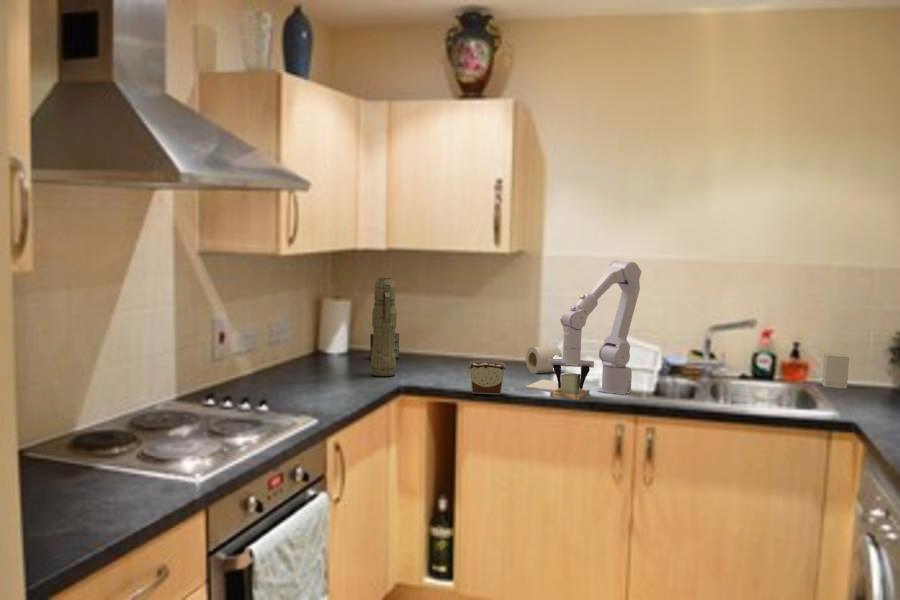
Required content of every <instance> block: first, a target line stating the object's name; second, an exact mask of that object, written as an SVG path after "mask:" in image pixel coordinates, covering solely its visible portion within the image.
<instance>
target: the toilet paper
mask: <svg viewBox="0 0 900 600" xmlns="http://www.w3.org/2000/svg"><path fill="white" fill-rule="evenodd" d="M555 355H558V356H559V357H562V358H563V353H562V351H561V349H560V348H559V347H558V346H557V345H551V346H534V347H533V346H530V347H529V348H528V349H527V351H526V354H525V364H526V368H527V370H528V372H530V373H532V374H545V373H548V374H549V373H554V372H553V366H549V359H553V357H554V356H555Z"/></svg>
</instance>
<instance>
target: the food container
mask: <svg viewBox="0 0 900 600" xmlns="http://www.w3.org/2000/svg"><path fill="white" fill-rule="evenodd" d="M467 369H468V370H469V369H470V371H469V372H470V380H471V381H470V383H471V393H472V394H481V395H482V394H483V395H484V394H485V395H487V394H488V395H501V394H502V387H503V382H504V381H503V380H504V374H505V373H504V372H505V371H507V368H506V364H505V363H504V362H501V361H493V360H475V361H471V362H470V363H469V365H468V368H467Z"/></svg>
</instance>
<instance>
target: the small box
mask: <svg viewBox="0 0 900 600" xmlns="http://www.w3.org/2000/svg"><path fill="white" fill-rule="evenodd" d="M369 335H370V338H369V339H370V344H369V345H370V347H369V358H371V356H372V353H373V333H370V334H369ZM394 353H395V356H396V358H399V359H400V333H399V332H398V333H397V332H395V349H394Z"/></svg>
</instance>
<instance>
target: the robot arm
mask: <svg viewBox="0 0 900 600" xmlns="http://www.w3.org/2000/svg"><path fill="white" fill-rule="evenodd" d="M604 270H605V271H604V274H603V275H602V276H601V277H600V278H599V280H598V281H597V283H596V284H595V285H594V286H593V288H592V289H591V291H590V292H589V293H588V292H585V293H584V294H581V295H579V299H578V300H577V301H576V303H575V304H573V305H572V306H571V307H570V309H569V310H566V311H565V312H563V314H562V316H561V318H560V323H561V325H562V329H563V330H562V331H563V346H562V359H549V366H553V368H554V371H555V372H554V373H555V376H556V379H557V381H558V388H561V375H562V367H574V368H576V367H578V368H580V389H584V383H585V381H586V378H587V376H588V374H589V372H590V369H591V368H592V369H594V368H595V361H594V360H583V359H581V357H582V355H581V353H582V351H581V350H582V330H583V328H584V327H585V326H586V323H587V319H588V318H589V316H590V314H591V313H593V311H594V310H595V309H596V307H597V306H598V304H599V301H598V300H599V299H600V298H601V297H602V295H604V294H605V293H606V292H607V291H608V290H609V289H610V288H611V287H612V286H613V285H614V284H617V285H618V287H620V290H621V294H620V298H619V301H618V305H617V310H616V313H615V316H614V321H613V324H612V326H611V327H612V328H611V331H610V335H609V336H607V337H606V338H605V339H604V341H603V343H602V345H601V346H600V348H599V351H598V358H599V360H600V361H601V365H602V373H601V375H602V376H601V377H602V378H601V388H599V389H598V390H597V392H598V393H604V394H613V393H616V395H621V394H623V395H622V396H625V394H626V395H627V393H628V392H629V393H631V392H632V378H633V377H632V376H633V375H632V374H633V371H632V368H631V367H629V366H627V365H628V363H629V361H630V359H631V355H630V349H631V345H630V343H629V342H628V335H629V331H630V327H631V323H632V320H633V317H634V312H635V309H636V306H637V302H638V297H639V295H640V294H639V293H640V289H641V285H640V284H641V283H640V278H641V274H642V270H641V267H639V265H638V264H637V263H636V262H635V261H619V260H613V261H611V262H610V263H609V265H608V266H607V267H606V268H605V269H604ZM561 366H562V367H561ZM630 391H631V392H630ZM629 393H628V394H629Z"/></svg>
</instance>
